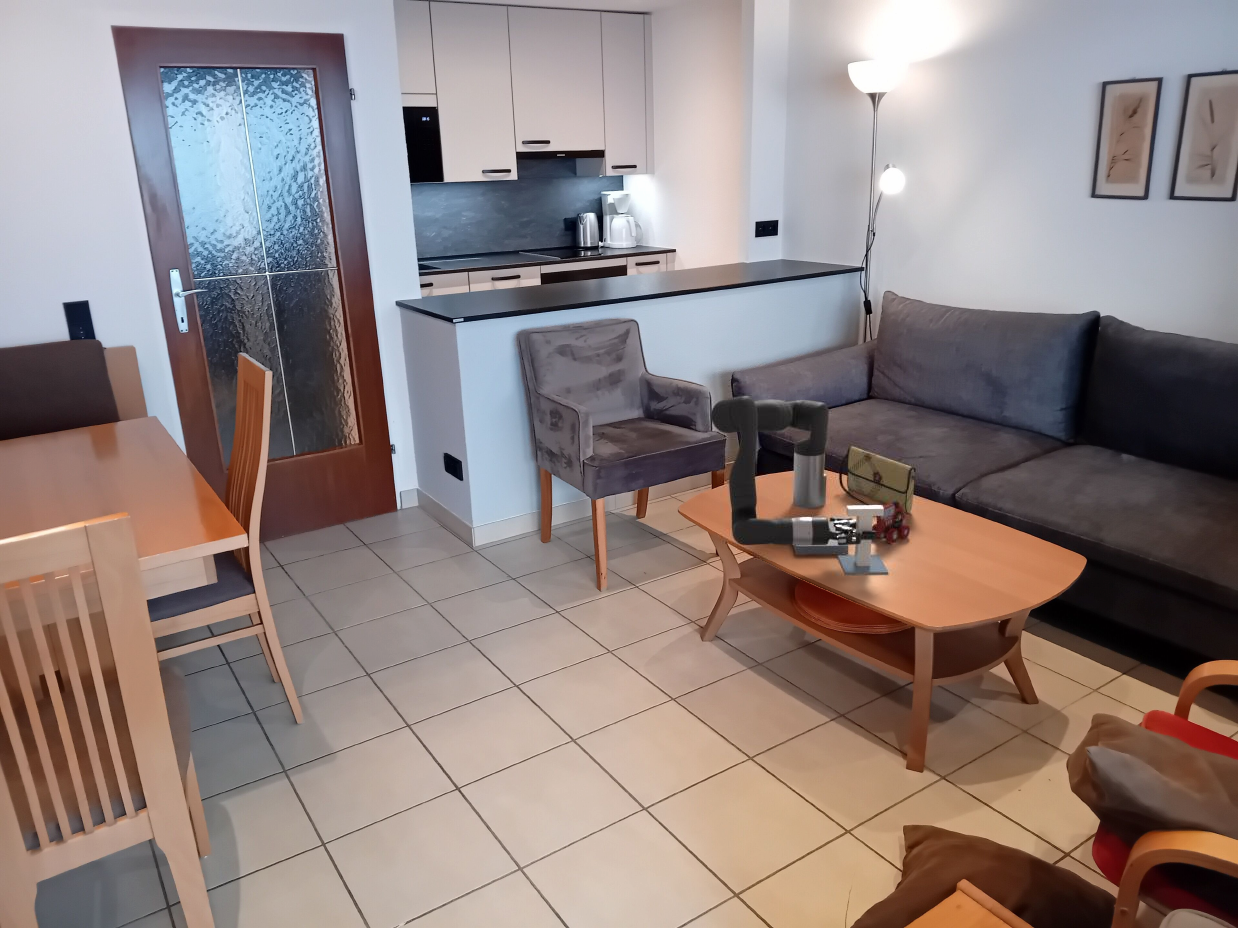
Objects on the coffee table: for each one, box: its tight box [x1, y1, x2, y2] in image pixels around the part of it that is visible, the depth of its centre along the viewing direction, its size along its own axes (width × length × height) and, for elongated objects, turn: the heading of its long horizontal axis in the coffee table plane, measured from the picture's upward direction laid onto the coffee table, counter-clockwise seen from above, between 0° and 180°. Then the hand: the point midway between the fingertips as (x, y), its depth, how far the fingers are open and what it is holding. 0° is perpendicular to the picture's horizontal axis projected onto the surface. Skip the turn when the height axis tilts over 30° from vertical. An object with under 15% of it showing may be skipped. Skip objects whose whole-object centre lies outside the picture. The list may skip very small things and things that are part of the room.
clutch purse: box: [838, 445, 916, 514], centre depth 273 cm, size 30×7×15 cm, turn 29°
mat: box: [837, 553, 889, 575], centre depth 233 cm, size 11×11×1 cm
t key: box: [845, 504, 884, 566], centre depth 231 cm, size 9×3×16 cm, turn 87°
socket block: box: [792, 539, 849, 556], centre depth 247 cm, size 14×14×2 cm
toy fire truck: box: [872, 501, 911, 545], centre depth 248 cm, size 7×12×10 cm, turn 128°
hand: (873, 530), depth 230 cm, fingers open, 6 cm apart
